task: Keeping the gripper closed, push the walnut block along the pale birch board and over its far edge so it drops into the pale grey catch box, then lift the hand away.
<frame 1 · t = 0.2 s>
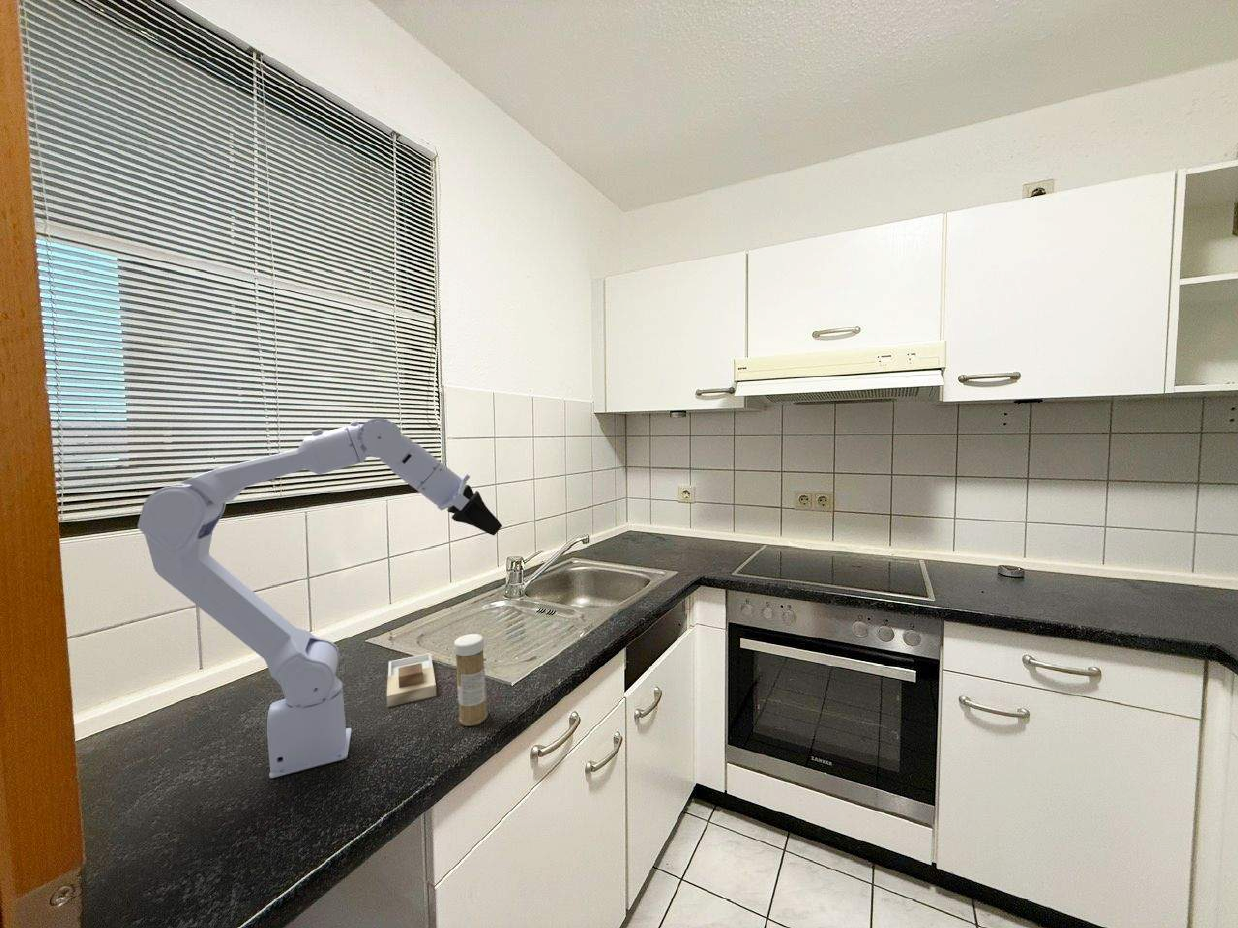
hand: (493, 526, 84), 31 cm above the counter, tool tilted 45°, fingers open, 7 cm apart
sprinkles bottle: (473, 720, 81), on the counter
walnut block: (411, 680, 90), point 2 cm above the counter, touching birch board
catch box: (410, 672, 98), on the counter
birch board: (411, 691, 91), on the counter
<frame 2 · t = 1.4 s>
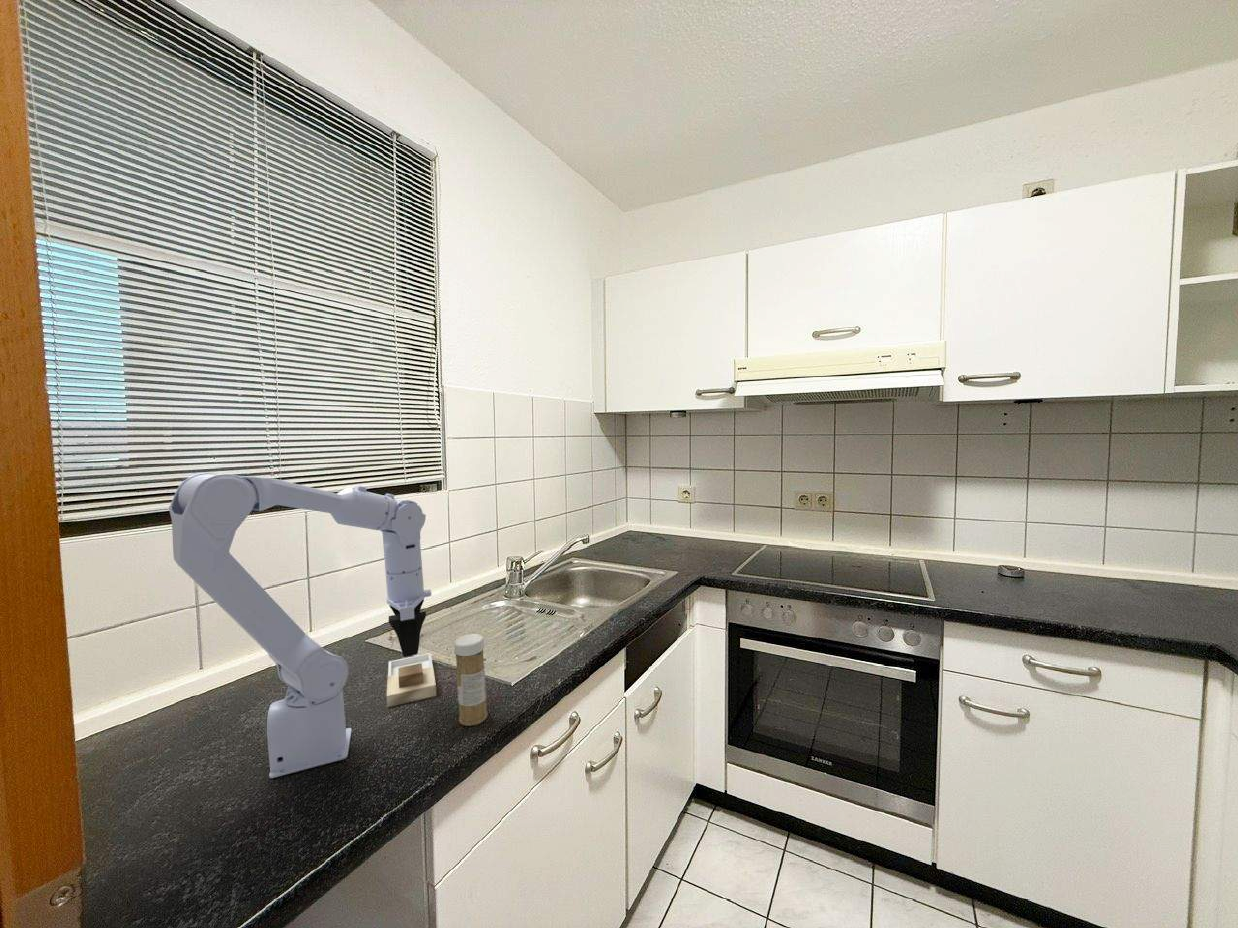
hand: (410, 647, 85), 10 cm above the counter, tool pointing down, fingers open, 6 cm apart
nothing on the counter moved.
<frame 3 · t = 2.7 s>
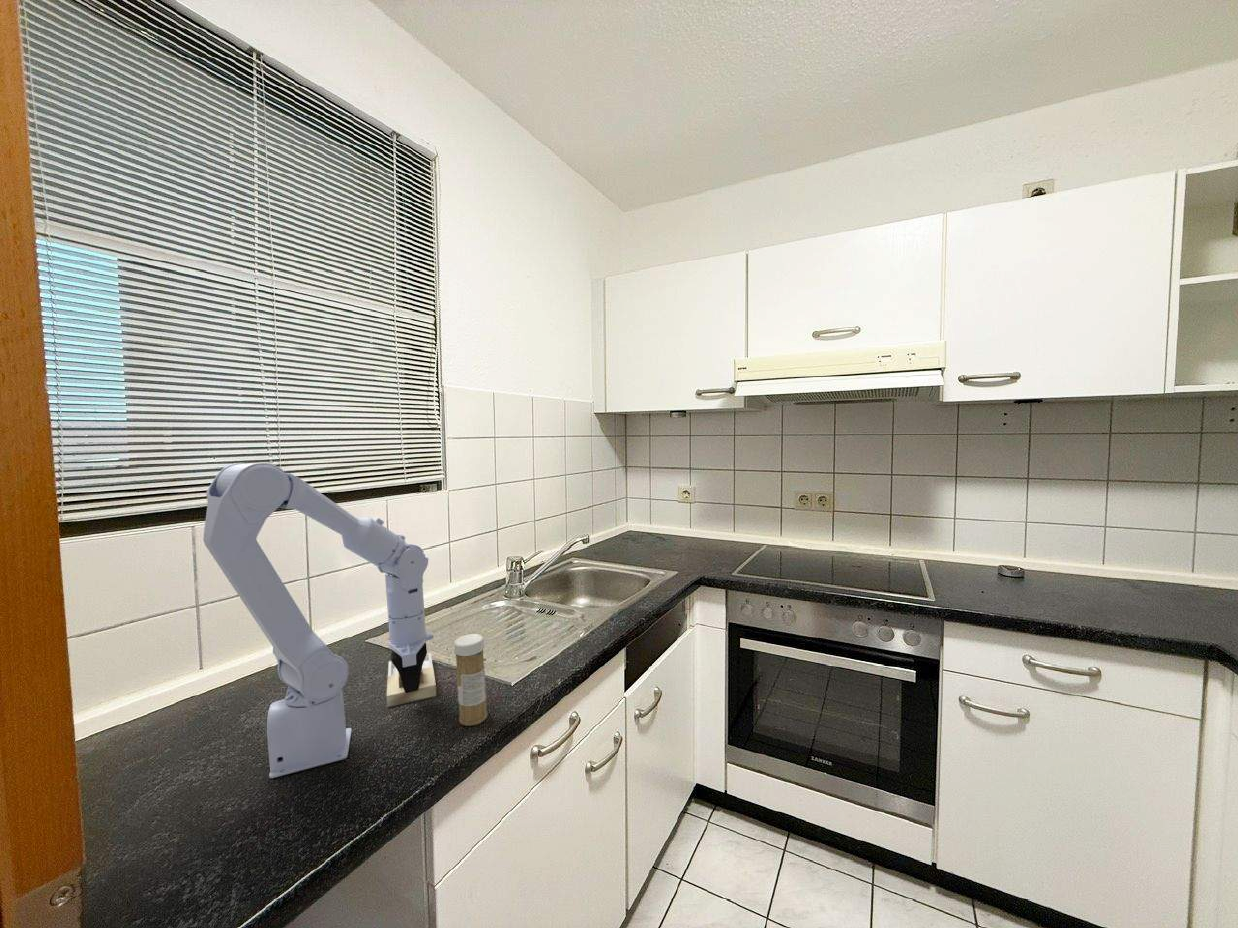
hand: (411, 690, 85), 3 cm above the counter, tool pointing down, fingers closed
nothing on the counter moved.
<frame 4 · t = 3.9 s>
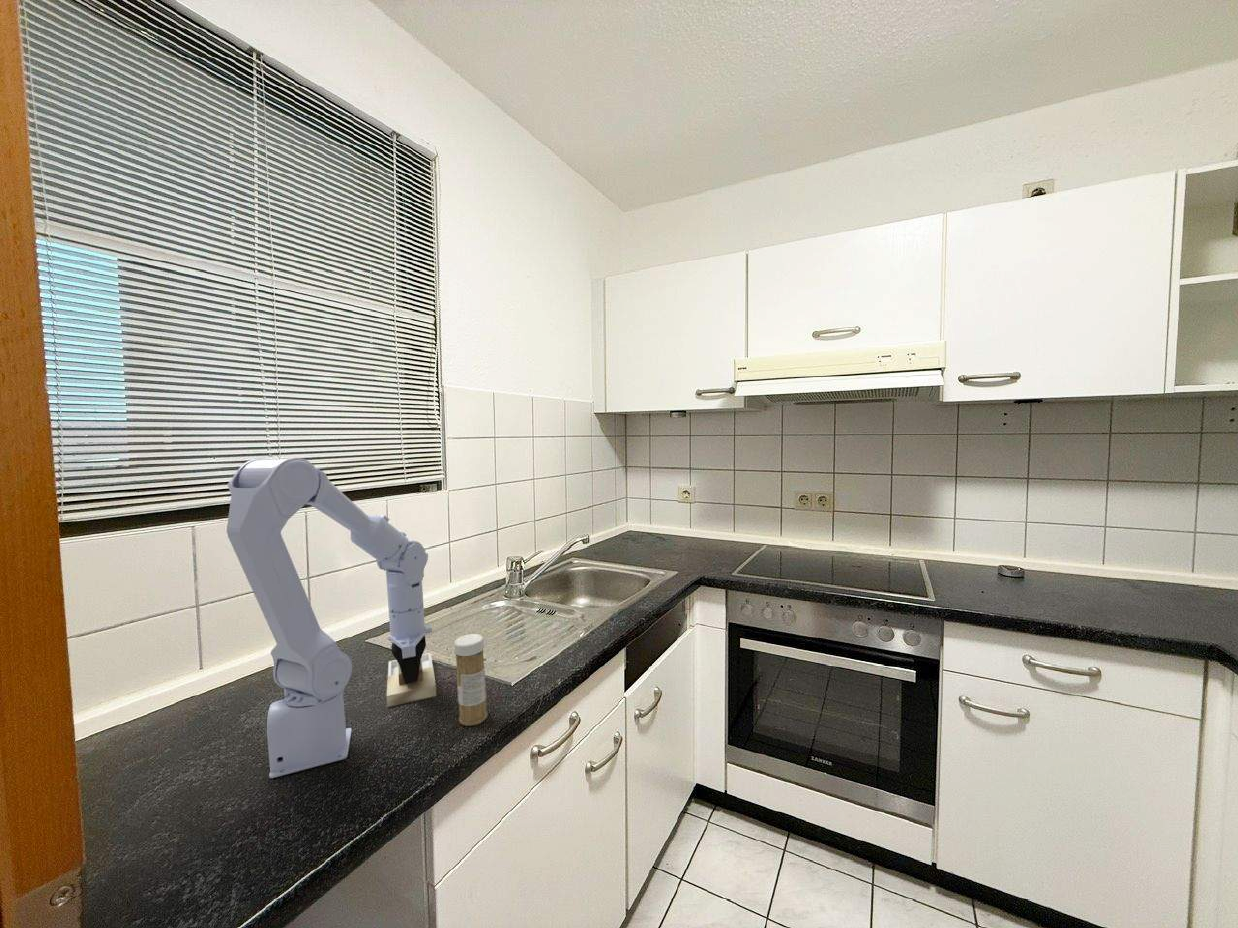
hand: (411, 681, 89), 3 cm above the counter, tool pointing down, fingers closed
walnut block: (411, 677, 91), point 2 cm above the counter, touching gripper
everything else where it was.
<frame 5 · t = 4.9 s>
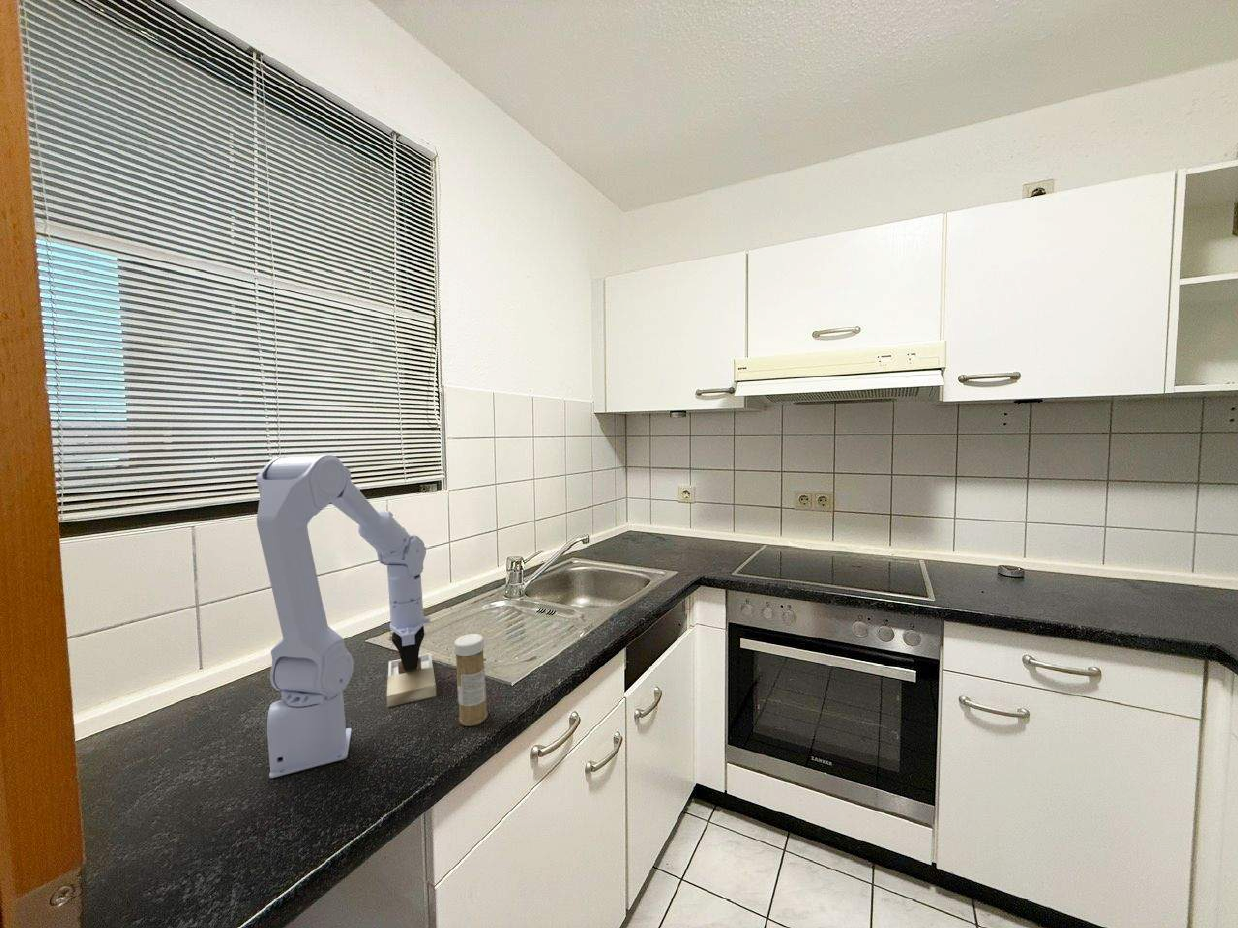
hand: (410, 668, 94), 3 cm above the counter, tool pointing down, fingers closed
walnut block: (410, 671, 96), point 1 cm above the counter, tilted 28°, touching gripper
everything else where it was.
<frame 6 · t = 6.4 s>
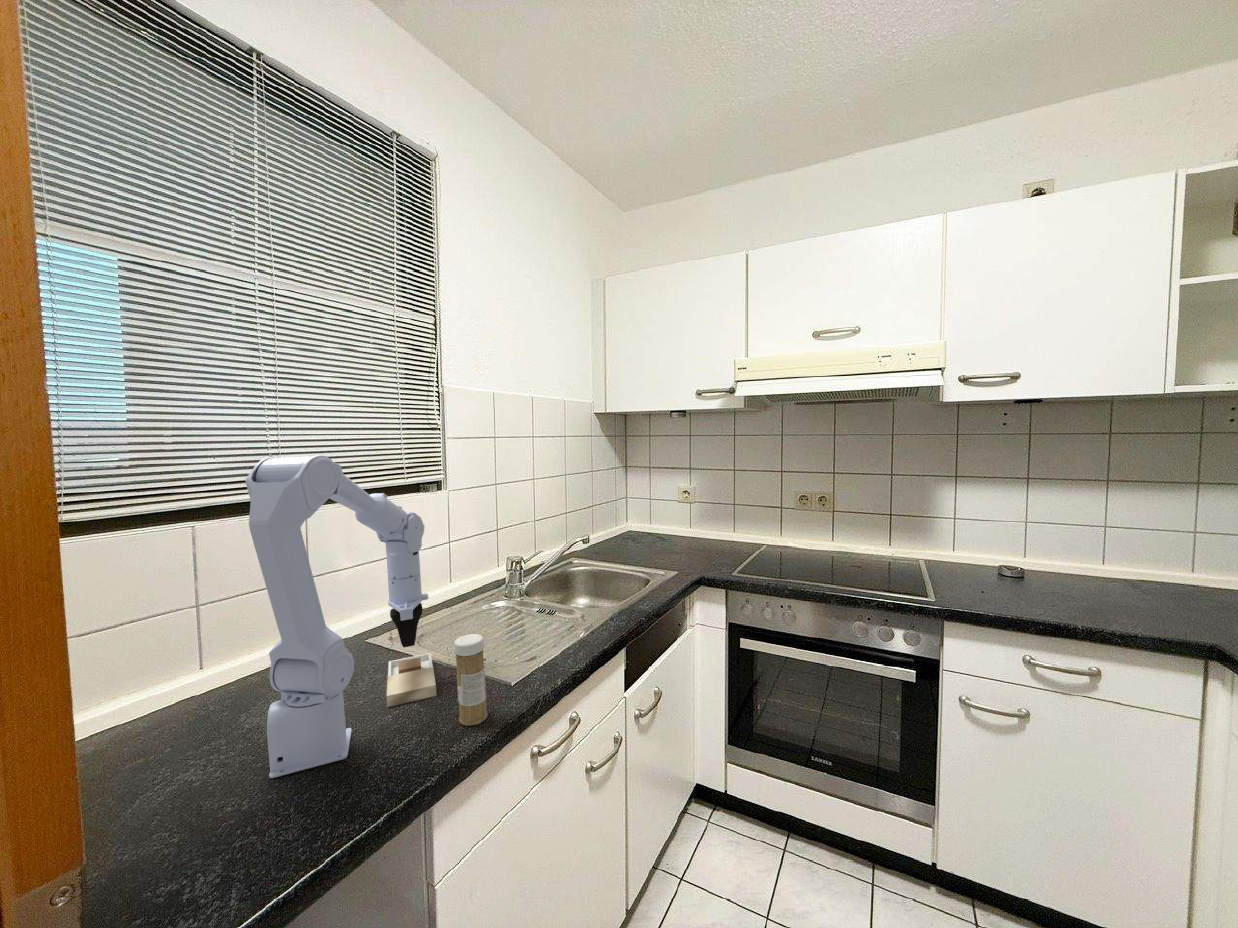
hand: (408, 645, 95), 7 cm above the counter, tool pointing down, fingers closed
walnut block: (410, 673, 97), resting on catch box
everything else where it was.
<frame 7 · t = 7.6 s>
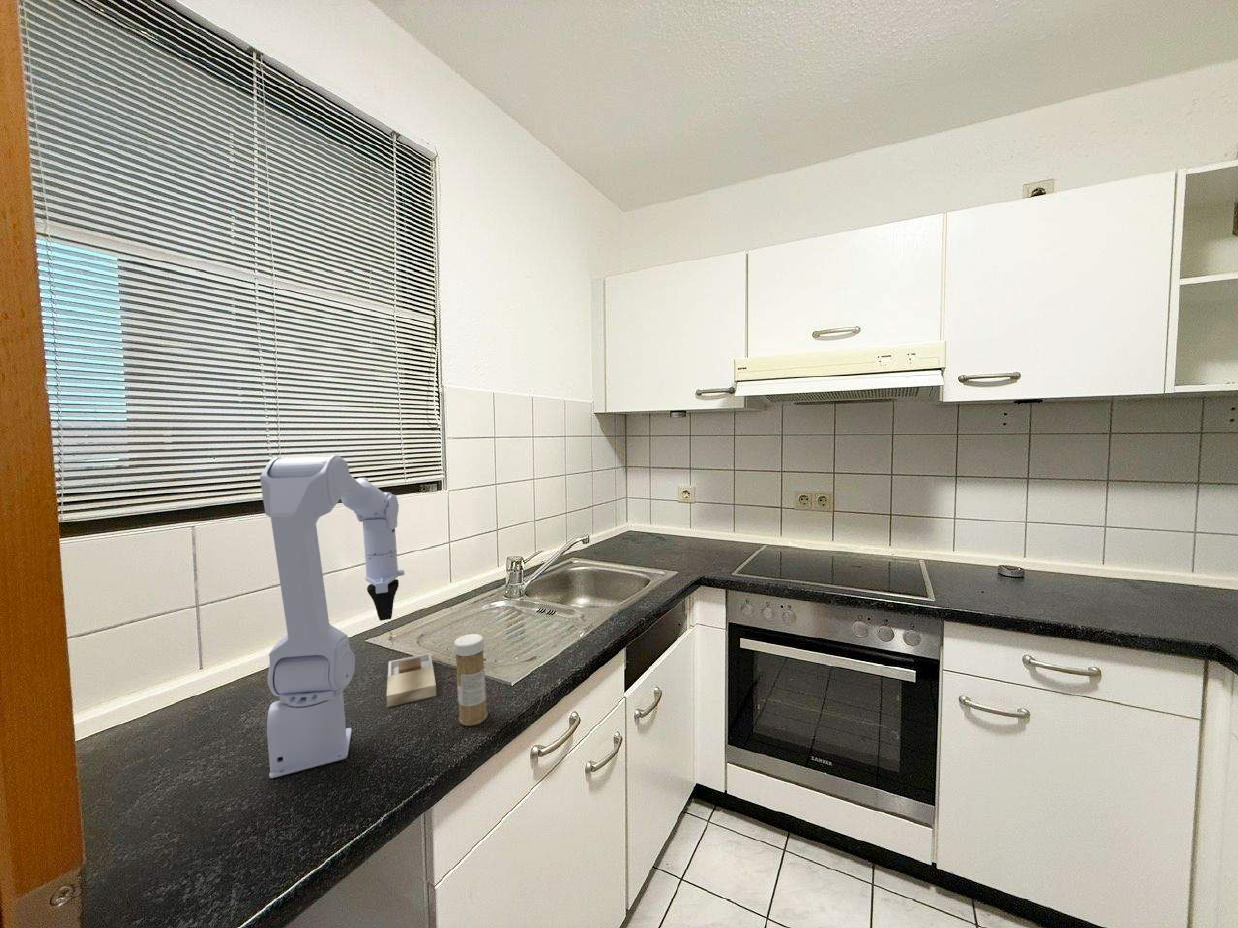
hand: (385, 618, 99), 10 cm above the counter, tool pointing down, fingers closed
nothing on the counter moved.
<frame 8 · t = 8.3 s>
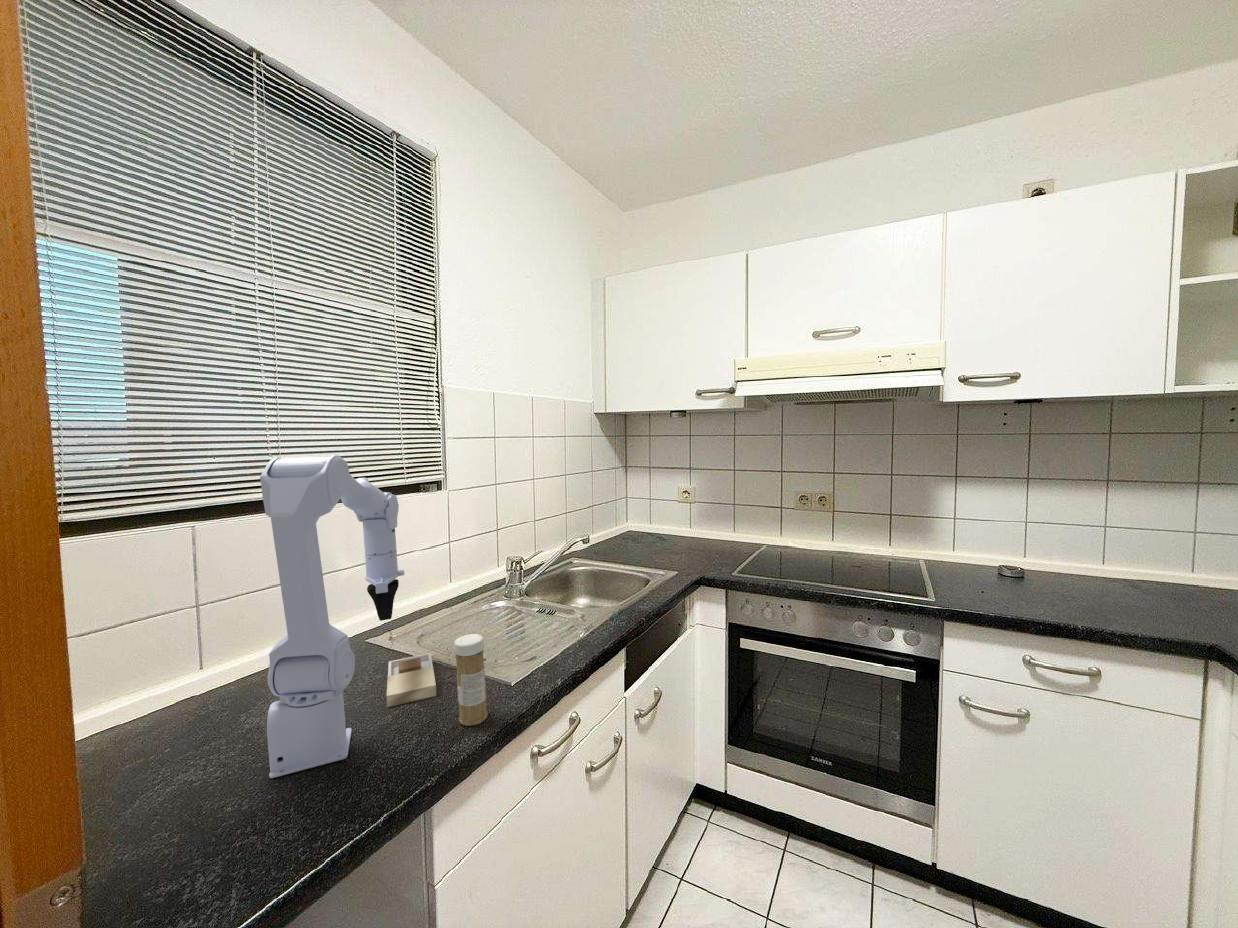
hand: (385, 618, 99), 10 cm above the counter, tool pointing down, fingers closed
nothing on the counter moved.
at the end: walnut block 1.3 cm off-centre on the catch box, point 0.3 cm above the catch box's base; sprinkles bottle moved 0.2 cm from its start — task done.
